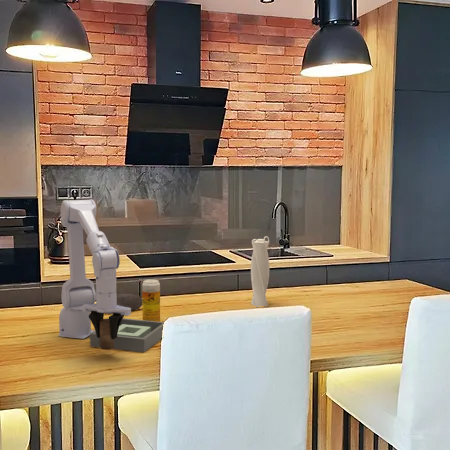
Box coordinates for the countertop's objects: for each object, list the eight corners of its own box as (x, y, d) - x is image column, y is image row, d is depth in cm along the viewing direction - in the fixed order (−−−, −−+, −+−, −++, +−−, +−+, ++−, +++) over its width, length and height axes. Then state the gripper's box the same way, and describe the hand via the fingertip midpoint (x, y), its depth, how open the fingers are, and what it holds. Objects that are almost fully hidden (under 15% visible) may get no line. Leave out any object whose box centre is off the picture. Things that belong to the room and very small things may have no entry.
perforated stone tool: (141, 307, 213) (141, 290, 212) (145, 311, 208) (145, 293, 208) (102, 311, 207) (102, 293, 206) (105, 315, 202) (105, 296, 202)
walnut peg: (97, 348, 159) (96, 321, 158) (104, 344, 162) (103, 318, 161) (110, 350, 157) (109, 323, 156) (116, 345, 161) (116, 319, 160)
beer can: (143, 326, 189) (143, 283, 187) (141, 321, 195) (141, 279, 193) (161, 325, 191) (161, 282, 189) (158, 320, 197) (158, 278, 195)
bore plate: (108, 340, 171) (108, 333, 171) (122, 331, 181) (122, 324, 180) (137, 344, 168) (137, 336, 168) (151, 334, 178) (151, 326, 177)
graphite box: (90, 346, 168) (89, 333, 168) (117, 329, 186) (117, 317, 185) (144, 352, 163) (144, 339, 163) (167, 334, 181) (167, 322, 180)
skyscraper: (272, 307, 216) (274, 236, 212) (255, 309, 213) (256, 237, 210) (263, 302, 223) (265, 233, 220) (247, 304, 220) (248, 234, 217)
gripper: (76, 292, 156) (77, 339, 158) (123, 296, 152) (123, 344, 154) (89, 287, 163) (89, 331, 164) (134, 291, 159) (134, 336, 160)
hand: (106, 337), depth 160 cm, fingers closed on walnut peg, 4 cm apart
